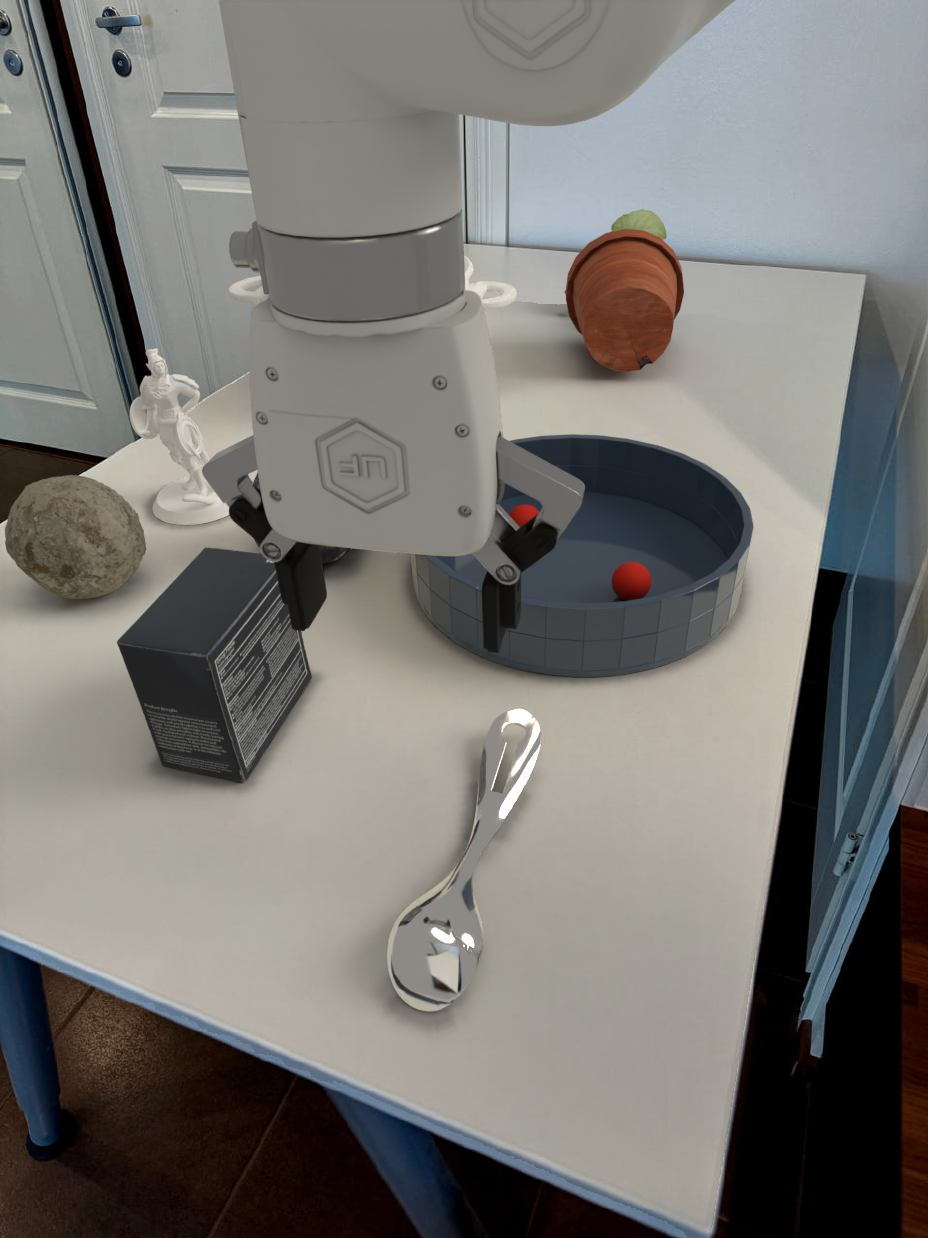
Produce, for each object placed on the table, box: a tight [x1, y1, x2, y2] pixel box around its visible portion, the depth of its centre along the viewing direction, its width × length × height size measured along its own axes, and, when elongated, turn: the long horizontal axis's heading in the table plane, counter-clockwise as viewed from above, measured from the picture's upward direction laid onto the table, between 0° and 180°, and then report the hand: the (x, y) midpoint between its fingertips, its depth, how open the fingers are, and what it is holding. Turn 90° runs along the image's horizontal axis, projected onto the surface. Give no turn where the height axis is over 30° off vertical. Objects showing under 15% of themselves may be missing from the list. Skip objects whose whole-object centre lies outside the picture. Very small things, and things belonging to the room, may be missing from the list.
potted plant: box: [563, 208, 685, 373], centre depth 112 cm, size 16×15×35 cm
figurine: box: [129, 347, 229, 526], centre depth 79 cm, size 9×9×15 cm
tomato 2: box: [612, 562, 651, 601], centre depth 67 cm, size 3×3×3 cm
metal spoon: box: [386, 708, 542, 1012], centre depth 49 cm, size 20×4×5 cm
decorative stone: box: [4, 474, 147, 600], centre depth 70 cm, size 10×8×10 cm
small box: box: [116, 547, 313, 783], centre depth 56 cm, size 11×6×10 cm, turn 164°
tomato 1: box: [509, 504, 539, 527], centre depth 75 cm, size 3×3×3 cm
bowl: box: [410, 433, 754, 678], centre depth 70 cm, size 26×26×6 cm
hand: (402, 624), depth 44 cm, fingers open, 9 cm apart
